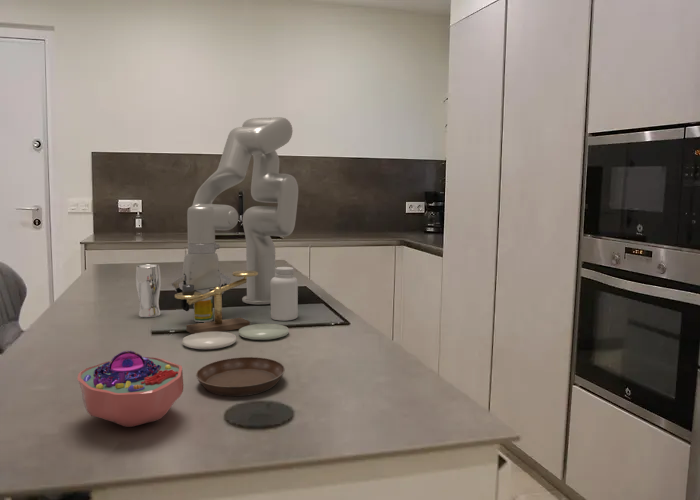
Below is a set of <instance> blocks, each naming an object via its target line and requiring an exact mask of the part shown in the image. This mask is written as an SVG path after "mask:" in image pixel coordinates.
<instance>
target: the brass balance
mask: <svg viewBox="0 0 700 500" xmlns="http://www.w3.org/2000/svg"><path fill="white" fill-rule="evenodd" d="M231 275H232V276H233V277H236V278H237V277H239V278H241V277H243V278H241V279H238V280H236V281H234V282H231V283H229V284H228V285H225V286H223V287H219V286H217V287H215V288H212V289H213V290H210V292H207V293H205V294H202V293H199V292H196V291H195V290H194V285H191V284H188V285H182V286H181V290H182V293H177V292H176V293H175V294H174V298H175V299H177V300H181V299H187V303H188V304H189V306H191V305H194V303H196V302H199V301H201V300H204V299H206V298H209V297H211V296H212V297H213V303H214V304H213V308H214V309H213V315H214V321H213V320H212V321H210V322H205V323H199V322H197V323H191V324H186V325H185V330H186V332H188V333H190V335H191V334H195V333H201V332H226V331H233V330H239V329H240V328H242V327H245V326H248V325H251V322H250V321H249V320H247V319H246V318H242V317H235V318H228V319H223V303H222V300H223V294H222V292H224V293H225V292H226V291H229V290H231V289H234V288H236V287H240V286H242V285H244V284H247V277H250V276H256V275H258V272H257V271H247V270H236V271H233V272H232V274H231Z"/></svg>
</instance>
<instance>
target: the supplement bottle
mask: <svg viewBox="0 0 700 500" xmlns="http://www.w3.org/2000/svg"><path fill="white" fill-rule="evenodd" d="M210 291H211V288H210V289H199V290H195V292H199V293H202V294H205V293H207V292H210ZM213 303H214V296H211V297H209V298H206V299H204V300H201V301H199V302H196V303H194V304H193V321H194V322H195V323H199V322H212V321H213V320H214V309H213V308H214V304H213Z"/></svg>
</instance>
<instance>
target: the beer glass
mask: <svg viewBox="0 0 700 500" xmlns="http://www.w3.org/2000/svg"><path fill="white" fill-rule="evenodd" d="M135 268H136V269H135V270H136V271H135V286H136V290H137V296H138V301H139V311H138V317H140V318H143V319H144V318H145V319H146V318H147V319H149V318H156V317H159V316H160V315H161V311H160V305H159V300H160V293H161V283H162V282H161V281H162V280H161V279H162V277H161V269H160V265H159V264H151V263H149V264H139V265H136V266H135Z"/></svg>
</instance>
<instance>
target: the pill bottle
mask: <svg viewBox="0 0 700 500" xmlns="http://www.w3.org/2000/svg"><path fill="white" fill-rule="evenodd" d="M275 273H276V274H275V275H276V277H273V278H272V279H271V304H270V318H271V319H272V320H274V321H284V322H285V321H293V320H295V319H298V314H299V312H298V311H299V310H298V309H299V307H298V305H299V303H298V301H299V299H298V298H299V297H298V295H299V293H298V291H299V286H298V279H297V277H295V276H293V275H294V267H292V266H291V267H290V266H277V267H275Z"/></svg>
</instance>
